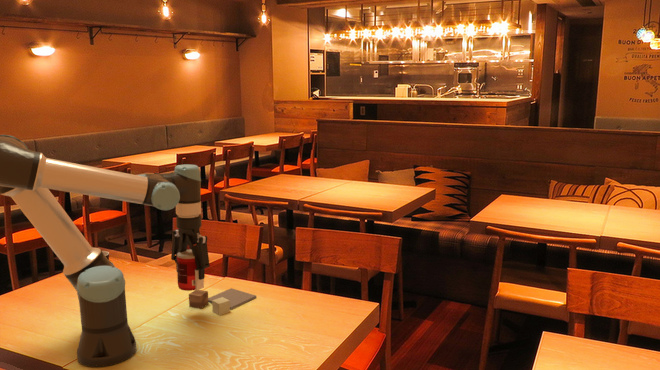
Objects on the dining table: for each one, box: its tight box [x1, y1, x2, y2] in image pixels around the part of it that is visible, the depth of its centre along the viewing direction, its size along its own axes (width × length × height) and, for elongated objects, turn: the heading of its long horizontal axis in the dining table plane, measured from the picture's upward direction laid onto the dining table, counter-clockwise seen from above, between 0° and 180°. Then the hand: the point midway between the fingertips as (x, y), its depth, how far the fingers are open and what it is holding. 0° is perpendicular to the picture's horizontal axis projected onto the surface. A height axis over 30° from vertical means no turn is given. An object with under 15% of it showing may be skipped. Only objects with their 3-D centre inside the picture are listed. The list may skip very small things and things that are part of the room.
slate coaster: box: [208, 287, 257, 310], centre depth 190 cm, size 12×12×1 cm
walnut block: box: [188, 289, 210, 310], centre depth 185 cm, size 4×4×4 cm
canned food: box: [176, 249, 201, 292], centre depth 174 cm, size 8×8×11 cm
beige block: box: [211, 297, 231, 316], centre depth 180 cm, size 4×4×4 cm
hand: (190, 285), depth 175 cm, fingers closed on canned food, 8 cm apart
